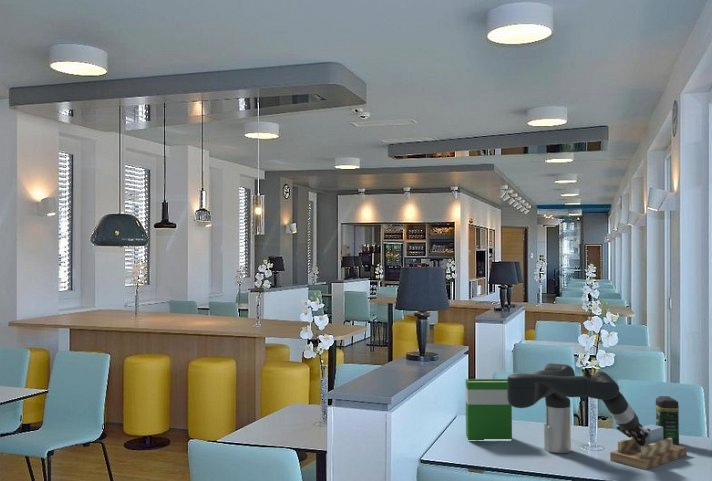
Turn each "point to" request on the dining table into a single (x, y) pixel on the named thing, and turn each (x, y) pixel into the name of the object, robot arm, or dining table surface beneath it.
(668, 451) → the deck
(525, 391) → the robot arm
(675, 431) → the coffee jar
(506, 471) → the dining table surface
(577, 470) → the dining table surface
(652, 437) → the block
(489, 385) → the hardback book
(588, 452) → the dining table surface
